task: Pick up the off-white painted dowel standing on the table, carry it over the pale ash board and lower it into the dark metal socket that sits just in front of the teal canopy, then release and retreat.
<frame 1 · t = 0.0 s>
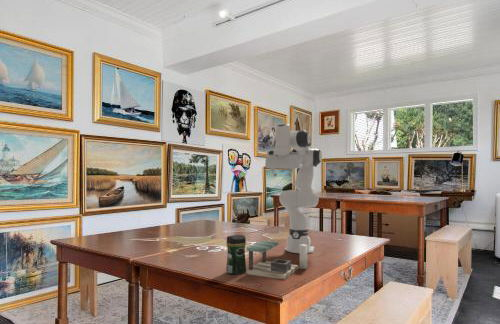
hand: (282, 176, 193), 48 cm above the table, fingers open, 8 cm apart
canopy socket: (273, 271, 173), on the table
coffee jar: (235, 272, 170), on the table
peg: (303, 268, 179), on the table
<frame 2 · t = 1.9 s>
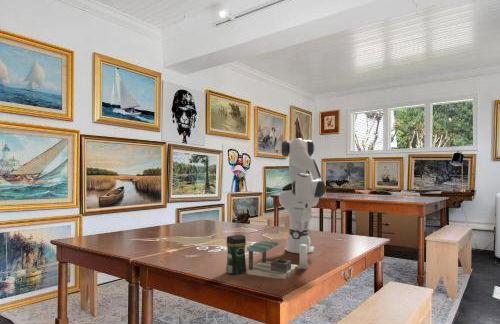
hand: (303, 230, 180), 20 cm above the table, fingers open, 8 cm apart
nothing on the table moved.
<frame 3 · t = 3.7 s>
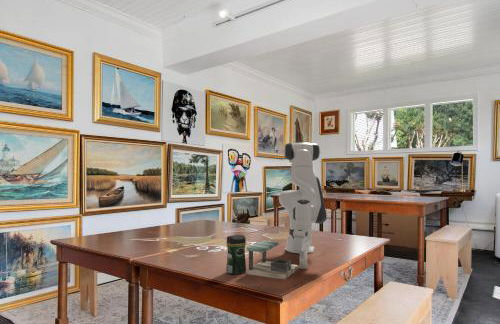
hand: (303, 257, 180), 6 cm above the table, fingers closed on peg, 4 cm apart
peg: (303, 268, 179), on the table, touching gripper
everything else where it was.
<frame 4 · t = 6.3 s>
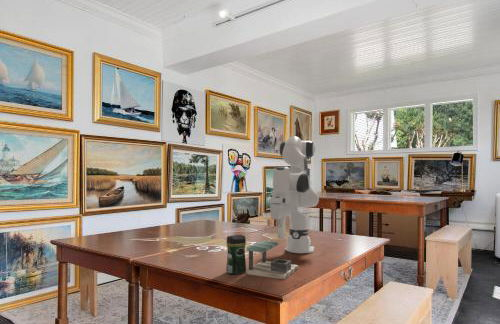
hand: (281, 226, 170), 23 cm above the table, fingers closed on peg, 4 cm apart
peg: (281, 238, 169), point 18 cm above the table, touching gripper
everything else where it was.
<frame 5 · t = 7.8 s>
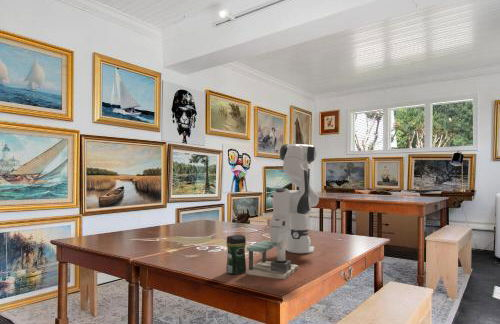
hand: (281, 248, 169), 12 cm above the table, fingers closed on peg, 4 cm apart
peg: (281, 260, 169), point 7 cm above the table, touching gripper
everything else where it was.
when the fingers open (9 cm above the table, at t = 8.8 s): peg stays where it is, resting on canopy socket.
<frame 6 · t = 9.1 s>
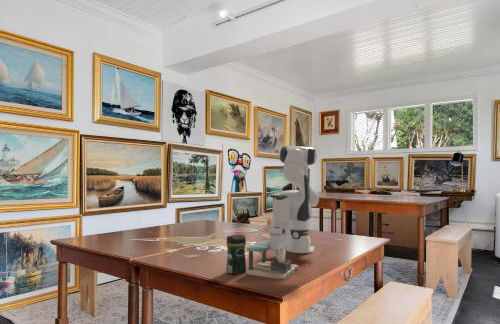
hand: (281, 256, 169), 9 cm above the table, fingers open, 7 cm apart
peg: (281, 269, 169), point 2 cm above the table, touching canopy socket
everything else where it was.
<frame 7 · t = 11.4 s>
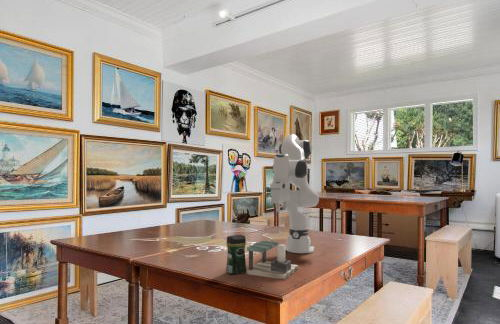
hand: (281, 210, 181), 30 cm above the table, fingers open, 8 cm apart
nothing on the table moved.
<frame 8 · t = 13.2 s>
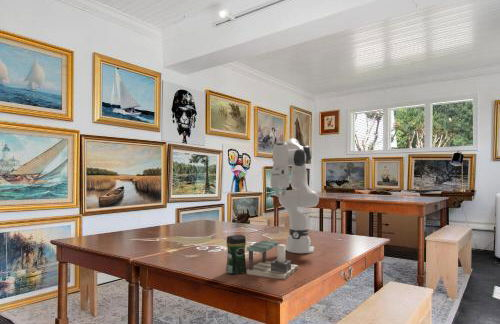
hand: (280, 196, 189), 37 cm above the table, fingers open, 8 cm apart
nothing on the table moved.
at the end: peg 0.1 cm from the target spot on the canopy socket, point 2.0 cm above the canopy socket's base; peg tilted 0°; the gripper is holding nothing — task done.
